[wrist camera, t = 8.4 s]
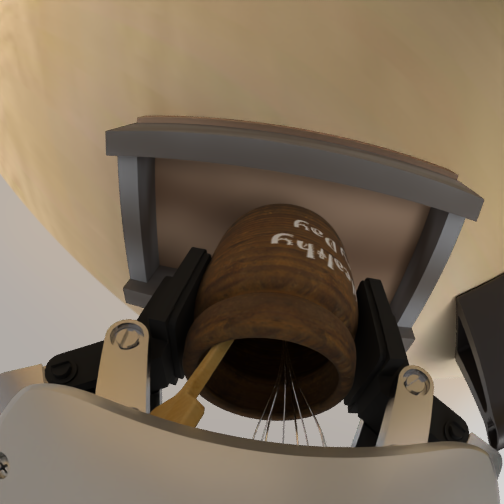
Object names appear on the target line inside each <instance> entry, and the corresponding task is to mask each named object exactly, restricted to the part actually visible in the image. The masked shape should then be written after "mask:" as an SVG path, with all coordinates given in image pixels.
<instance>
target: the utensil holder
mask: <svg viewBox="0 0 504 504" xmlns="http://www.w3.org/2000/svg"><path fill="white" fill-rule="evenodd" d="M357 328H358V302H357V296H356V291H355V286H354V281H353V277H352V273H351V269H350V265H349V261H348V258H347V255H346V252H345V249H344V246H343V244H342V242H341V239H340V238H339V236H338V234H337V233H336V231H335V230H334V228H333V227H332V226H331V225H330V224H329V223H328V222H327V221H326V220H325V219H324V218H322V217H321V216H320V215H318V214H317V213H315V212H313V211H311V210H309V209H306V208H304V207H301V206H297V205H292V204H269V205H264V206H261V207H258V208H255V209H253V210H250V211H249V212H247V213H245V214H244V215H242V216H241V217H239V218H238V219H237V220H236V221H235V222H234V223H233V224H232V225H231V226H230V227H229V228H228V230H227V231H226V232H225V234H224V235H223V237H222V239H221V240H220V242H219V244H218V246H217V248H216V250H215V251H214V253H213V255H212V257H211V260H210V262H209V264H208V266H207V268H206V270H205V273H204V275H203V277H202V280H201V282H200V285H199V289H198V292H197V296H196V301H195V308H194V322H193V323H192V325H191V327H190V329H189V331H188V334H187V337H186V341H185V346H184V353H183V359H182V365H183V371H184V374H185V376H186V378H187V380H188V381H187V382H186V384H185V385H184V386H183V388H182V389H181V390H180V391H179V392H178V393H177V394H176V395H175V396H174V397H172V398H171V399H169V400H167V401H166V402H164V403H162V404H161V405H159V406H157V407H156V408H155V409H154V410H153V411H151V413H150V415H153V416H157V417H160V418H163V419H166V420H169V421H173V422H176V423H180V424H183V425H187V426H191V427H196V426H197V424H198V422H199V421H200V419H201V418H202V416H203V414H204V409H205V408H204V406H203V405H202V404H201V403H200V402H199V401H198V400H197V399H196V398H197V397H198V395H199V394H200V395H201V396H202V397H203V398H205V399H206V400H207V401H209V402H210V403H212V404H214V405H216V406H217V407H220V408H222V409H224V410H226V411H229V412H232V413H234V414H238V415H240V416H244V417H249V418H254V419H260V420H259V422H258V425H257V428H256V430H255V433H254V436H253V440H254V438H255V434H256V432H257V429H258V426H259V424H260V421H261V420H267V422H266V425H265V429H264V432H263V436H262V440H261V441H263V437H264V433H265V430H266V427H267V424H268V427H267V432H266V437H265V441H266V442H267V435H268V430H269V425H270V421H271V420H272V421H283V441H282V444H284V424H285V420H295V429H296V440H297V445H299V444H298V432H297V423H296V419H301V420H302V418H307V417H311V416H313V417H314V419H315V421H316V424H317V426H318V429H319V432H320V435H321V439H322V444H323V447H324V445H325V447H326V443H325V439H324V436H323V433H322V431H321V428H320V426H319V424H318V422H317V419H316V417H315V415H317V414H320V413H322V412H324V411H327V410H329V409H331V408H332V407H334V406H335V405H337V404H338V403H339V402H341V401H342V400H343V399H344V398H345V397H346V396H347V394H348V393H349V391H350V390H351V388H352V385H353V382H354V377H355V369H356V347H355V343H354V339H355V336H356V333H357ZM268 420H269V422H268ZM302 424H303V428H304V432H305V437H306V442H307V446H309V445H308V440H307V436H306V431H305V427H304V423H303V420H302Z"/></svg>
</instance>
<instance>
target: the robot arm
mask: <svg viewBox="0 0 504 504" xmlns="http://www.w3.org/2000/svg"><path fill="white" fill-rule="evenodd" d="M210 260H211V254H208V253H207V250H206V249H201V248H196V247H192V248H191V249H190V250H189V252H188V254H187V255H186V257H185V258H184V260H183V261H182V263H181V264H180V266H179V268H178V269H177V271H176V272H175V274H174V275H173V277H171V276H165V277H164V279H163V280H162V282H161V283H160V285H159V286H158V288H157V289H156V291H155V292H154V294H153V295H152V297H151V299H150V300H149V302H148V303H147V305H146V306H145V308H144V310H143V311H142V313H141V314H140V316H139V318H138V319H137V321H136V320H131V319H128V320H121V321H118V322H116V323H114V324H113V325H112V326H110V328H109V329H108V330H107V333H106V335H105V339H104V341H100V342H97V343H94V344H91V345H88V346H85V347H81V348H78V349H75V350H72V351H68V352H65V353H62V354H59V355H56V356H54V357H53V358H52V359H50V360H49V362H48V363H47V365H46V366H44V367H43V365H42V364H39V365H34V366H30V367H26V368H21V369H17V370H12V371H8V372H4V373H1V374H0V504H500V499H499V489H498V482H497V479H498V476H499V474H500V471H501V468H502V458H501V455H500V454H499V452H498V451H497V450H495V449H494V448H492V447H491V446H490V445H488V444H487V443H486V442H484V441H483V440H482V439H480V438H479V437H478V436H476V435H475V434H473V433H471V434H469V431H468V426H467V424H466V422H465V421H464V420H463V419H462V418H461V417H460V416H458V415H457V414H456V413H455V412H454V411H452V410H451V409H450V408H449V407H447V406H446V405H445V404H444V403H442V402H441V401H440V400H439V399H438V398H436V397H435V396H434V395H433V391H434V384H433V380H432V378H431V376H430V375H429V373H428V372H427V371H425V370H424V369H423V368H421V367H419V366H414V365H411V366H409V363H408V359H407V356H406V352H405V348H404V345H403V341H402V338H401V334H400V331H399V328H398V325H397V321H396V318H395V316H394V315H393V314H392V311H391V308H390V305H389V302H388V299H387V296H386V293H385V290H384V287H383V285H382V282H381V280H379V279H373V278H366V279H365V281H363V280H362V281H361V282H360V284H359V286H358V289H357V291H356V296H357V302H358V328H357V333H356V336H355V339H354V343H355V347H356V369H355V377H354V382H353V385H352V388H351V390H350V391H349V393H348V394H347V396H346V397H345V398H344V404H345V405H348V413H358V417H359V418H360V422H359V425H358V428H357V431H356V434H355V437H354V440H353V442H352V445H351V447H318V446H303V445H292V444H282V443H274V442H266V441H259V440H253V439H246V438H240V437H235V436H230V435H225V434H220V433H216V432H211V431H207V430H202V429H198V428H195V427H191V426H187V425H183V424H180V423H176V422H173V421H169V420H166V419H163V418H160V417H157V416H153V415H150V413H151V411H153V410H154V409H155V408H156V407H157V406H159V405H161V404H162V389H163V388H165V387H168V385H169V384H173V385H176V383H177V381H178V378H180V379H183V378H184V376H185V374H184V371H183V365H182V359H183V353H184V346H185V341H186V337H187V334H188V331H189V329H190V327H191V325H192V323H193V322H194V308H195V301H196V296H197V292H198V289H199V285H200V282H201V280H202V277H203V275H204V273H205V270H206V268H207V266H208V264H209V262H210Z"/></svg>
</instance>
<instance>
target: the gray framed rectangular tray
mask: <svg viewBox="0 0 504 504" xmlns="http://www.w3.org/2000/svg"><path fill="white" fill-rule="evenodd" d="M106 155H109V156H118V176H119V191H120V204H121V214H122V224H123V232H124V240H125V248H126V255H127V261H128V267H129V274H130V280H129V281H128V282H127V284H126V285H125V286H124V288H123V291H124V295H125V300H126V303H129V304H132V305H136V306H139V307H143V308H145V306H146V305H147V303H148V302H149V300H150V299H151V297H152V295H153V294H154V292H155V291H156V289H157V288H158V286H159V285H160V283H161V282H162V280H163V279H164V277H165V276H171V277H173V275H174V274H175V272H176V271H177V269H178V268H179V266H180V264H181V263H182V261H183V260H184V258H185V257H186V255H187V254H188V252H189V250H190V249H191V248H192V247H196V248H201V249H206V250H207V253H208V254H211V257H212V255H213V253H214V251H215V250H216V248H217V246H218V244H219V242H220V240H221V239H222V237H223V235H224V234H225V232H226V231H227V230H228V228H229V227H230V226H231V225H232V224H233V223H234V222H235V221H236V220H237V219H238V218H239V217H241V216H242V215H244V214H245V213H247V212H249V211H250V210H253V209H255V208H258V207H261V206H264V205H269V204H292V205H297V206H301V207H304V208H306V209H309V210H311V211H313V212H315V213H317V214H318V215H320V216H321V217H322V218H324V219H325V220H326V221H327V222H328V223H329V224H330V225H331V226H332V227H333V228H334V230H335V231H336V233H337V234H338V236H339V238H340V239H341V242H342V244H343V246H344V249H345V252H346V255H347V258H348V261H349V265H350V269H351V273H352V277H353V281H354V286H355V291H357V289H358V286H359V284H360V282H361V281H362V280H363V281H365V279H366V278H373V279H379V280H381V282H382V285H383V287H384V290H385V293H386V296H387V299H388V302H389V305H390V308H391V311H392V314H393V315H394V316H395V318H396V321H397V325H398V328H399V331H400V334H401V338H402V341H403V345H404V348H405V352H407V350H408V349H409V347H410V346H411V345H412V343H413V342H414V340H415V337H414V334H413V331H412V328H411V327H412V326H413V324H414V323H415V321H416V319H417V318H418V316H419V314H420V312H421V311H422V309H423V307H424V305H425V304H426V302H427V300H428V298H429V296H430V295H431V293H432V291H433V289H434V287H435V285H436V283H437V281H438V279H439V277H440V275H441V273H442V271H443V269H444V267H445V265H446V263H447V261H448V259H449V256H450V254H451V252H452V250H453V247H454V245H455V243H456V240H457V238H458V236H459V233H460V231H461V228H462V226H463V223H464V220H465V218H467V219H470V220H473V221H477V219H478V216H479V213H480V211H481V208H482V205H483V202H484V199H483V198H482V197H480V196H479V195H478V194H476V193H475V192H474V191H472V190H471V189H469V188H468V187H466V186H465V185H464V184H462V183H461V182H459V181H458V180H457V178H458V175H457V174H456V173H454V172H452V171H451V170H448V169H446V168H443V167H441V166H438V165H435V164H432V163H430V162H427V161H424V160H421V159H418V158H415V157H412V156H409V155H406V154H403V153H399V152H396V151H393V150H389V149H386V148H382V147H379V146H375V145H371V144H368V143H364V142H360V141H356V140H352V139H348V138H343V137H339V136H334V135H330V134H325V133H320V132H315V131H310V130H305V129H299V128H293V127H287V126H281V125H274V124H267V123H259V122H251V121H242V120H232V119H221V118H207V117H188V116H143V117H138V118H137V123H134V124H130V125H126V126H122V127H119V128H115V129H111V130H108V131H106Z"/></svg>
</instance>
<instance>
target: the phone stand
mask: <svg viewBox="0 0 504 504" xmlns="http://www.w3.org/2000/svg"><path fill="white" fill-rule="evenodd" d="M456 330H457V332H456V350H455V359H456V362H457V364H458V366H459V368H460V370H461V372H462V374H463V376H464V378H465V380H466V382H467V384H468V386H469V388H470V390H471V393H472V395H473V397H474V399H475V401H476V404H477V406H478V408H479V411H480V413H481V416H482V418H483V420H484V423H485V427H486V431H487V435H488V441H489V444H490V446H491V447H492V448H494V449H495V450H497V451H499V450H500V449H503V448H504V274H502V275H500V276H499V277H497V278H495V279H493V280H491V281H489V282H487V283H485V284H483V285H481V286H479V287H477V288H475V289H473V290H471V291H469V292H467V293H465V294H462V295H460V296H458V297H456Z"/></svg>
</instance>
